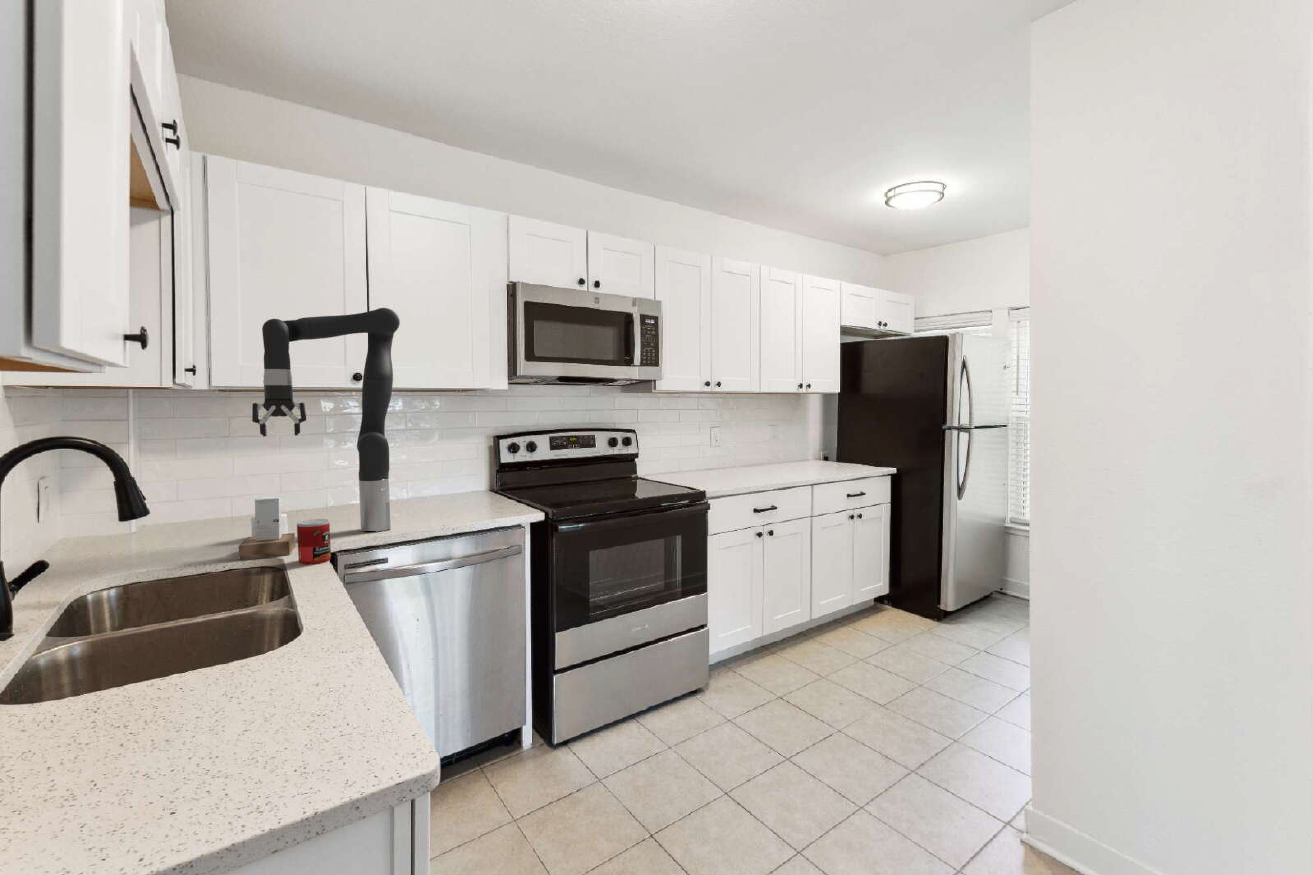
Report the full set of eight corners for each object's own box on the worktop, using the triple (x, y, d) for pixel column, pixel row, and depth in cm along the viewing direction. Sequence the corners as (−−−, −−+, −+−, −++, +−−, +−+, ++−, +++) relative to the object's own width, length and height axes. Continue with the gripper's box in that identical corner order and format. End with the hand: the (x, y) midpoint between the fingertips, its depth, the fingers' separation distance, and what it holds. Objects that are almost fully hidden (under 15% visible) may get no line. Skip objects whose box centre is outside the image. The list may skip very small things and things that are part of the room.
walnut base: (295, 545, 182) (294, 532, 182) (289, 555, 171) (288, 541, 171) (248, 550, 177) (247, 536, 177) (239, 559, 166) (238, 545, 166)
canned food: (317, 565, 160) (315, 524, 159) (291, 564, 161) (289, 523, 161) (337, 558, 168) (336, 519, 167) (312, 557, 169) (310, 518, 168)
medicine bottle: (288, 535, 197) (286, 499, 196) (272, 540, 190) (270, 502, 189) (268, 535, 198) (266, 499, 197) (251, 540, 191) (249, 502, 190)
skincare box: (255, 541, 171) (253, 499, 170) (258, 538, 175) (256, 497, 174) (280, 539, 173) (278, 497, 173) (282, 536, 178) (281, 495, 177)
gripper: (305, 384, 194) (308, 434, 195) (253, 384, 188) (256, 436, 189) (302, 383, 187) (305, 435, 188) (248, 383, 181) (251, 437, 182)
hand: (280, 435), depth 189 cm, fingers open, 8 cm apart
